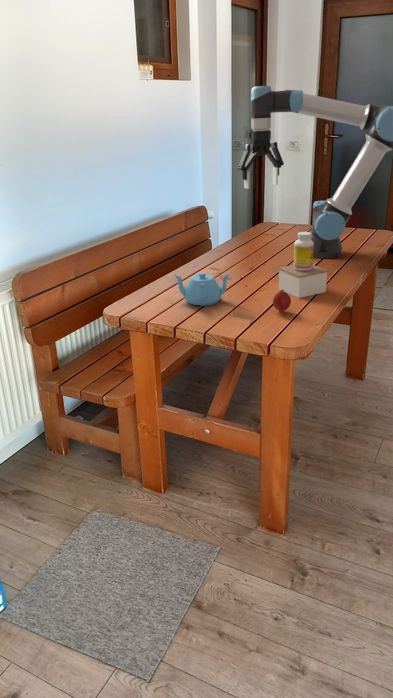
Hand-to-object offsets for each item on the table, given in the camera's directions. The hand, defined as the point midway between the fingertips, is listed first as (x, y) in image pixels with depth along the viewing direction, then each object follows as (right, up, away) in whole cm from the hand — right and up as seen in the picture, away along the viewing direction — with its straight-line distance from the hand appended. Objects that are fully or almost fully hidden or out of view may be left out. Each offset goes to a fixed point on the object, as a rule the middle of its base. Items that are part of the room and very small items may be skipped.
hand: (261, 186), depth 230 cm
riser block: (+12, -44, -22) cm, 51 cm away
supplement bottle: (+12, -37, -25) cm, 46 cm away
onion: (+2, -53, -41) cm, 67 cm away
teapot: (-24, -49, -29) cm, 62 cm away
